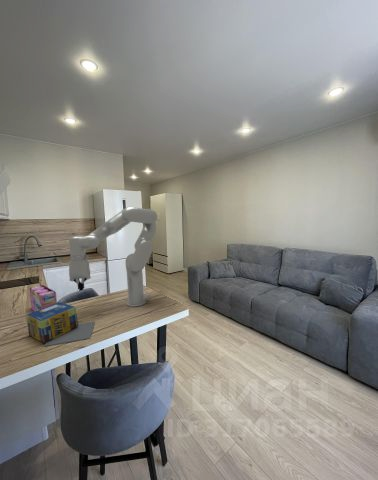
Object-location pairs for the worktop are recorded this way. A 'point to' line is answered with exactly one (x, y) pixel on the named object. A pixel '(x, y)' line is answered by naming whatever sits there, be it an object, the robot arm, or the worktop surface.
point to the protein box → (52, 321)
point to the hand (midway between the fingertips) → (81, 289)
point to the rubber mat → (74, 334)
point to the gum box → (42, 297)
